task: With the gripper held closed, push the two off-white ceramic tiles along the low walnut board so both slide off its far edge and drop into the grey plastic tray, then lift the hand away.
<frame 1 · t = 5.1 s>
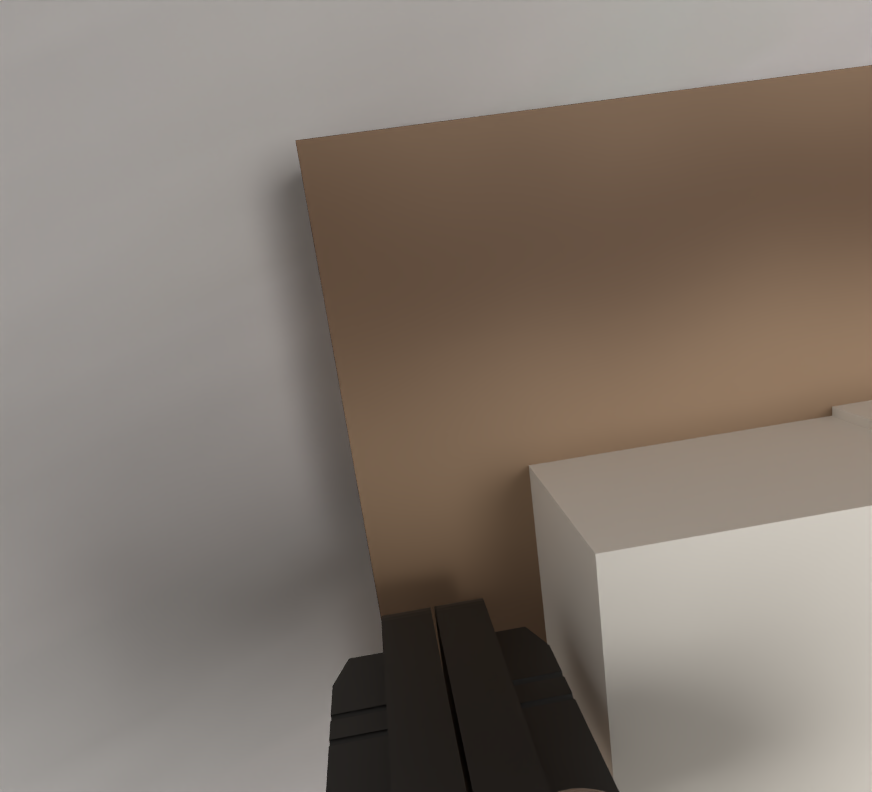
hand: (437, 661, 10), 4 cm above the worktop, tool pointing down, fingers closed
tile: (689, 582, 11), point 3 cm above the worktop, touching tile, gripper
walnut board: (750, 504, 14), on the worktop
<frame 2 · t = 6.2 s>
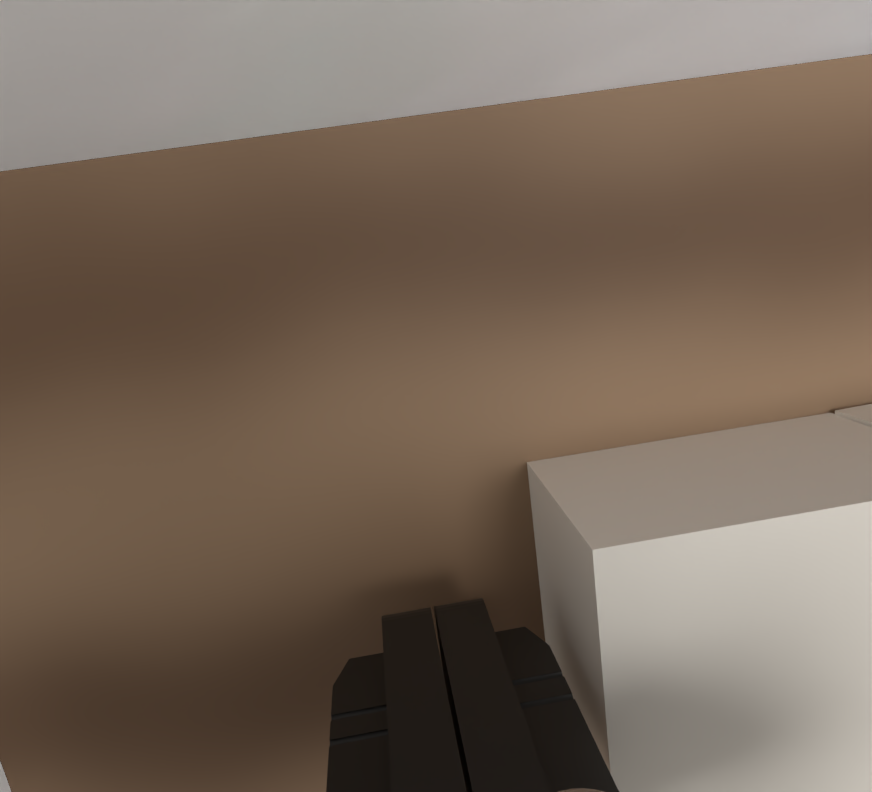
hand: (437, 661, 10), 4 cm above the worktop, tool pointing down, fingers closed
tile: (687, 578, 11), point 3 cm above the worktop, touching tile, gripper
walnut board: (464, 549, 14), on the worktop
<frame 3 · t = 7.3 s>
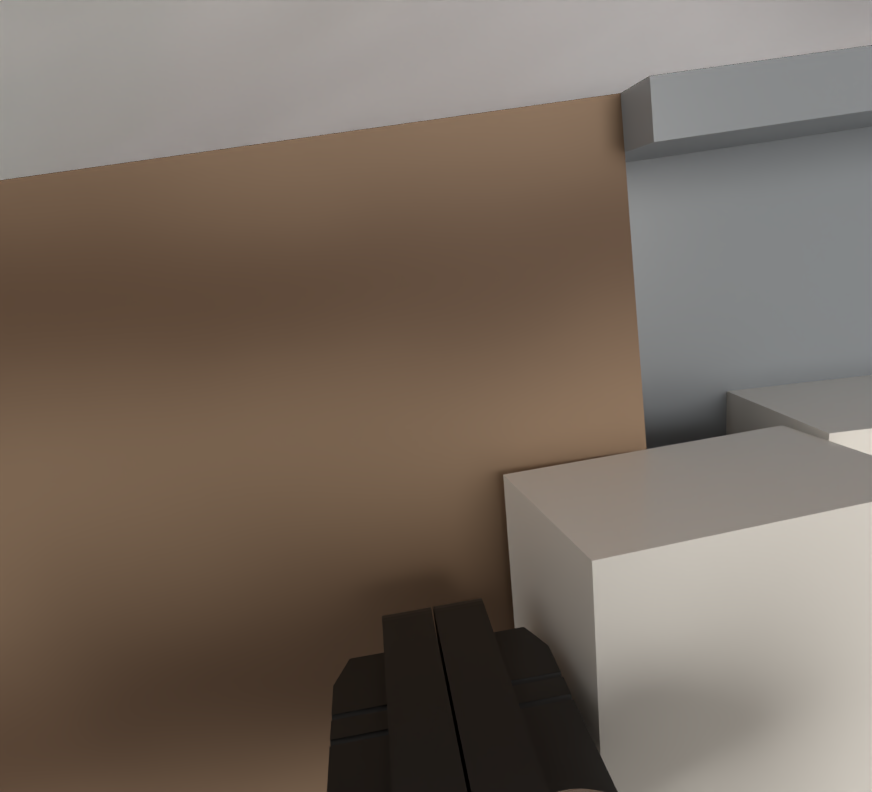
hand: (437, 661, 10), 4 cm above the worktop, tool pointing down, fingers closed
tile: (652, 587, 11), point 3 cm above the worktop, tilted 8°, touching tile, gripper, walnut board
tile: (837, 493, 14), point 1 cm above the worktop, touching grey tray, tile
walnut board: (224, 589, 14), on the worktop
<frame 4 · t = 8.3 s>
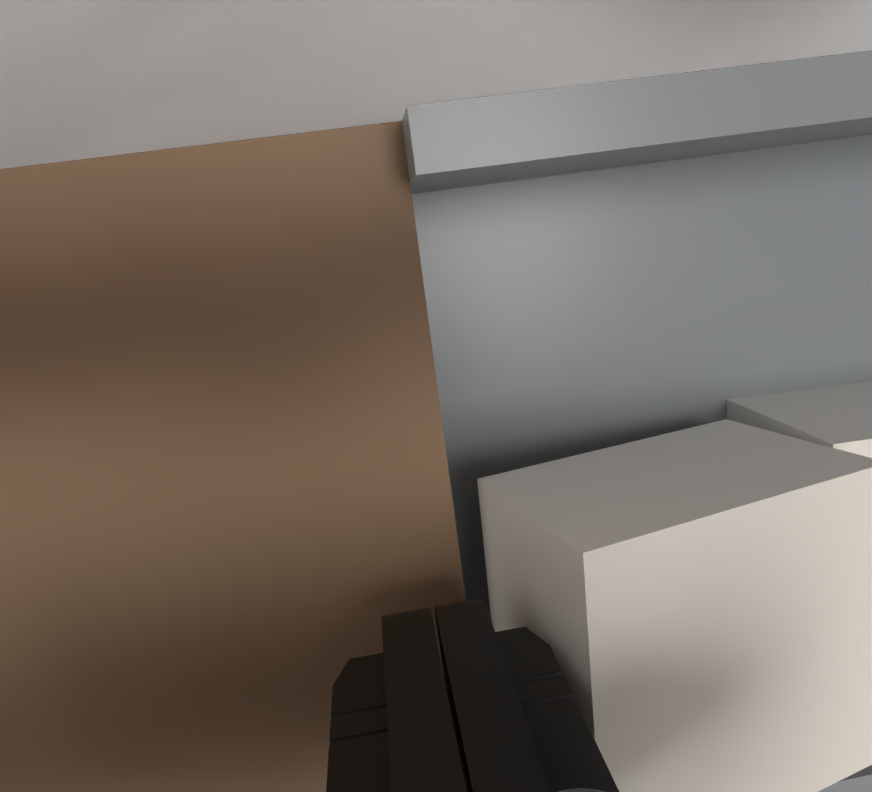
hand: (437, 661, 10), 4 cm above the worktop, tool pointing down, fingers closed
grey tray: (742, 416, 14), on the worktop
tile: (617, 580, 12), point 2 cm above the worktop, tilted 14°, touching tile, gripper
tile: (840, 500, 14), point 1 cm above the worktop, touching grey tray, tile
walnut board: (50, 625, 13), on the worktop
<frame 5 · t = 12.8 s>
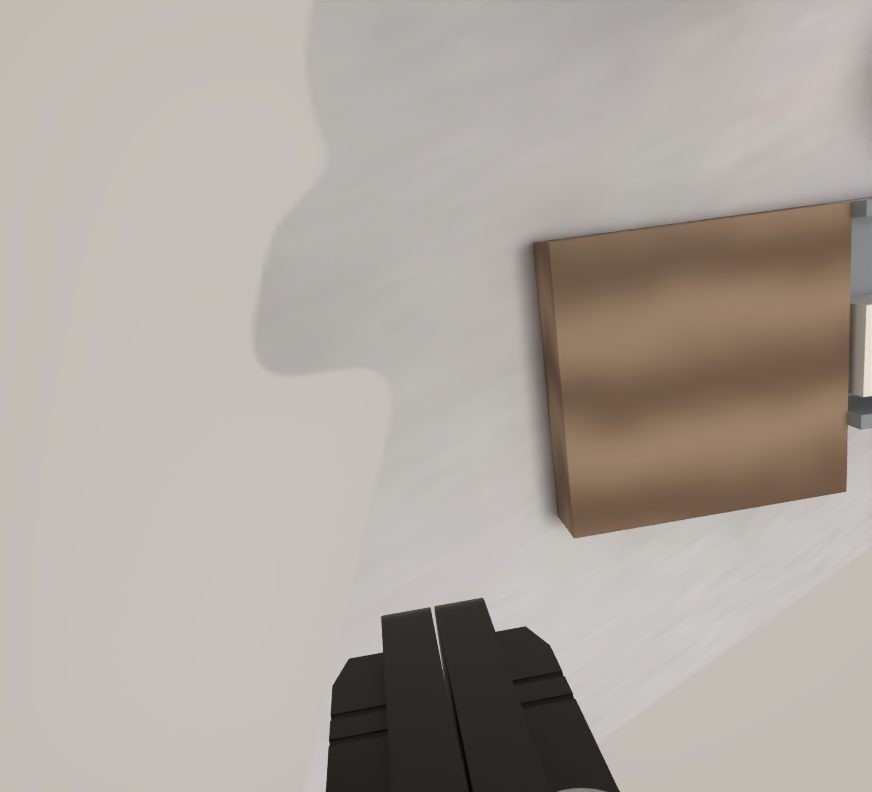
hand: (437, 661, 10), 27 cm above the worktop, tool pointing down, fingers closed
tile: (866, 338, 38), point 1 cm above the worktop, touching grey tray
walnut board: (681, 365, 38), on the worktop
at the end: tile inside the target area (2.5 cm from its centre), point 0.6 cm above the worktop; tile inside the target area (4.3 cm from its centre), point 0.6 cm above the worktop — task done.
